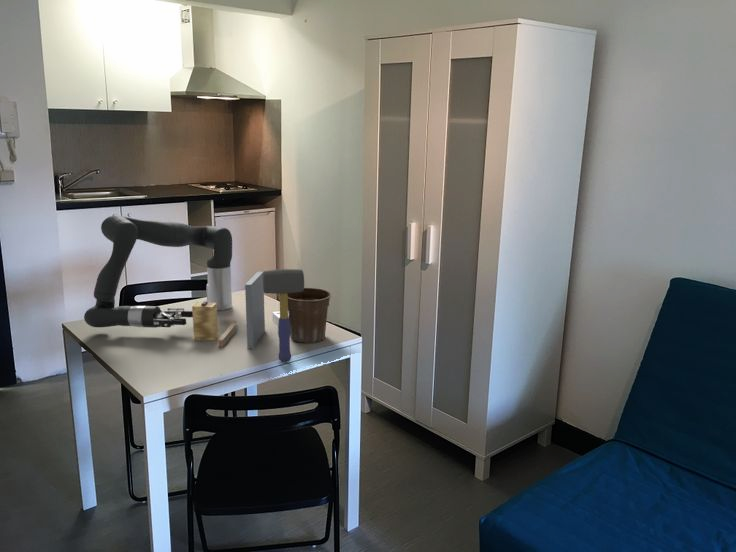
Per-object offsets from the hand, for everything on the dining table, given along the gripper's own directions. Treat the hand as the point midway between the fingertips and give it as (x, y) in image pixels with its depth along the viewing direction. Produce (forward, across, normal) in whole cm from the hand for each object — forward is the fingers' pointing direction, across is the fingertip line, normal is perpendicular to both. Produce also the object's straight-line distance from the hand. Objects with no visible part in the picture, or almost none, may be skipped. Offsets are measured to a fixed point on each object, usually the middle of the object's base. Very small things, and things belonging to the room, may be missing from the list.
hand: (190, 317), depth 209 cm
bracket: (+31, +18, +8) cm, 36 cm away
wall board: (+18, 0, +7) cm, 20 cm away
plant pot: (+41, +3, +7) cm, 42 cm away
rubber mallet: (+37, -20, +7) cm, 43 cm away
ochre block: (+5, 0, +7) cm, 9 cm away
